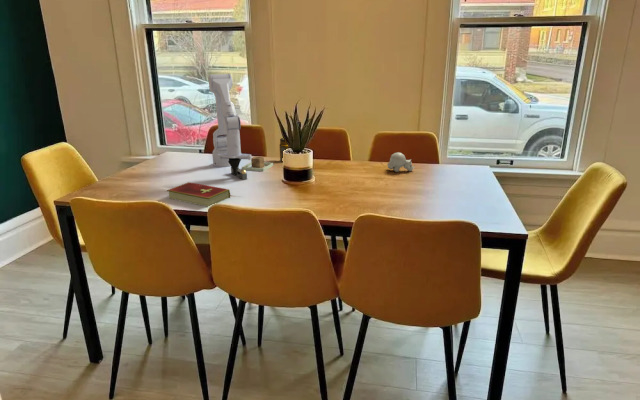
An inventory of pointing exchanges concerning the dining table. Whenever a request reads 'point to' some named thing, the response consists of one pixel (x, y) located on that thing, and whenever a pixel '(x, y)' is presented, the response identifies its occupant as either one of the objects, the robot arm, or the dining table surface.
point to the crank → (240, 173)
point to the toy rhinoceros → (399, 162)
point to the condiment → (282, 147)
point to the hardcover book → (199, 193)
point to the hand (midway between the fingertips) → (236, 175)
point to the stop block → (257, 162)
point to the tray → (257, 168)
